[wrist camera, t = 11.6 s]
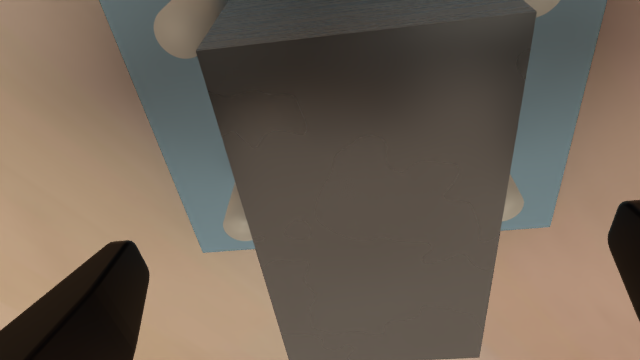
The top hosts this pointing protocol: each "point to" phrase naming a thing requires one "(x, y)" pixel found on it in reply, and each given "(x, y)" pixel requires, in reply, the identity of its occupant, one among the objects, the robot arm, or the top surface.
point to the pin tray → (208, 148)
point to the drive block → (372, 163)
